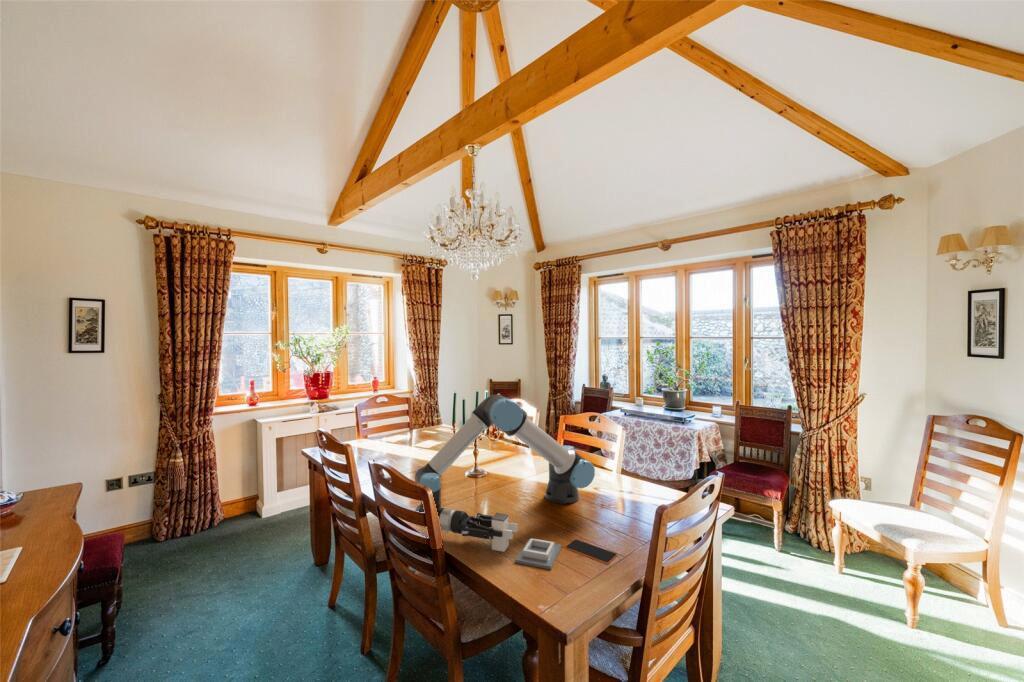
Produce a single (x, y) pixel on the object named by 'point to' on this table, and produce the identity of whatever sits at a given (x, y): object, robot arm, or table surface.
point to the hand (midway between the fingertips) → (514, 531)
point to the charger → (503, 523)
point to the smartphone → (591, 551)
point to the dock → (538, 553)
